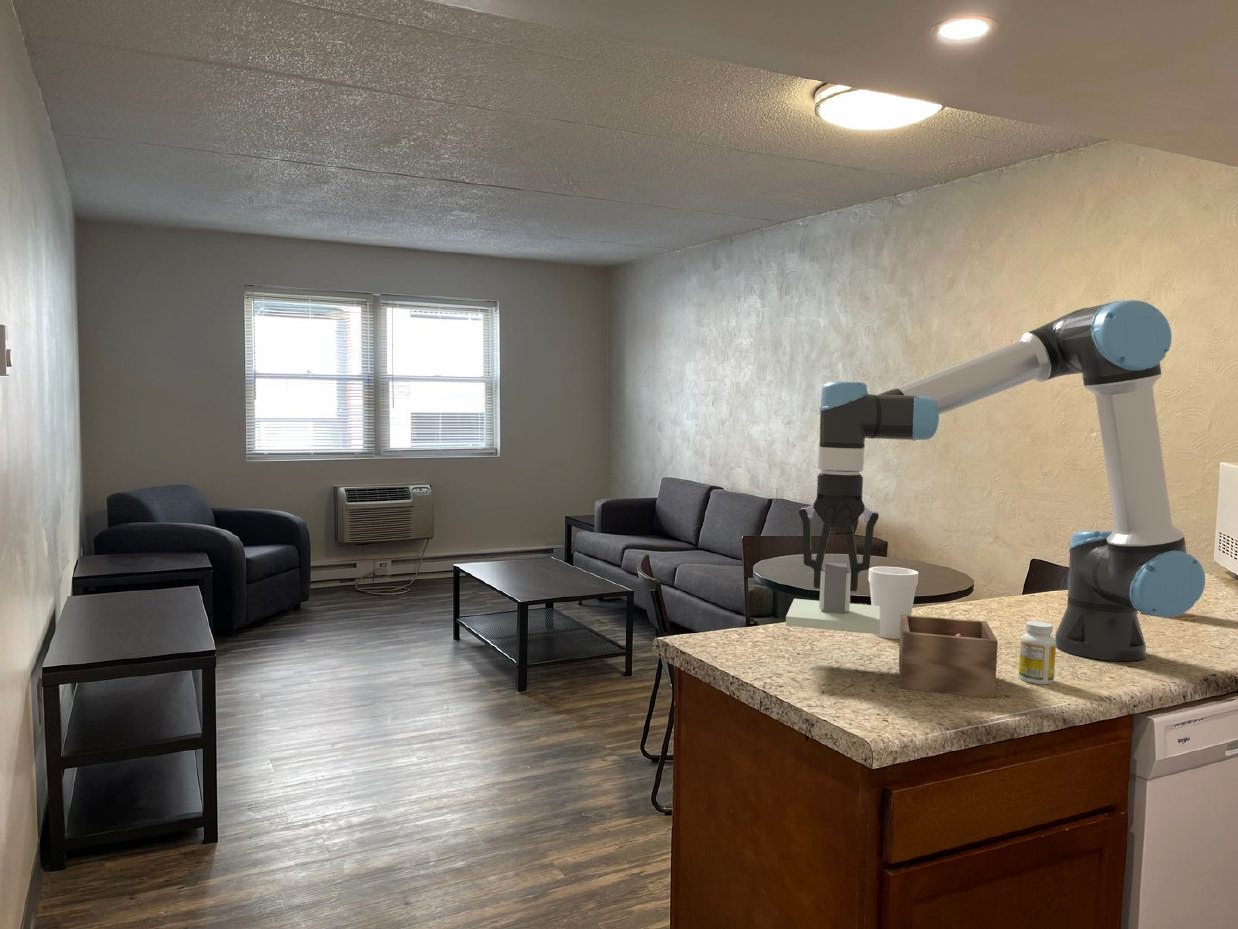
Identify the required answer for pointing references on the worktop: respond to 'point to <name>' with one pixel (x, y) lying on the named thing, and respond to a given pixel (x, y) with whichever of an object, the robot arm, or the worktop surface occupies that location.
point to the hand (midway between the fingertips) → (834, 608)
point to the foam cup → (892, 596)
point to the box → (947, 656)
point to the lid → (834, 608)
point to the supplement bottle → (1037, 653)
